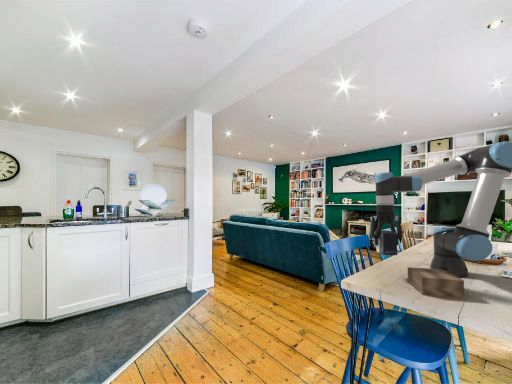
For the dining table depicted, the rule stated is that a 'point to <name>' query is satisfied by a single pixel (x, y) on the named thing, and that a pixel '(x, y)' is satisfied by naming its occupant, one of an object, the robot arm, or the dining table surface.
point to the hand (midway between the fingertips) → (386, 252)
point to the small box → (388, 242)
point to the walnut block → (436, 282)
